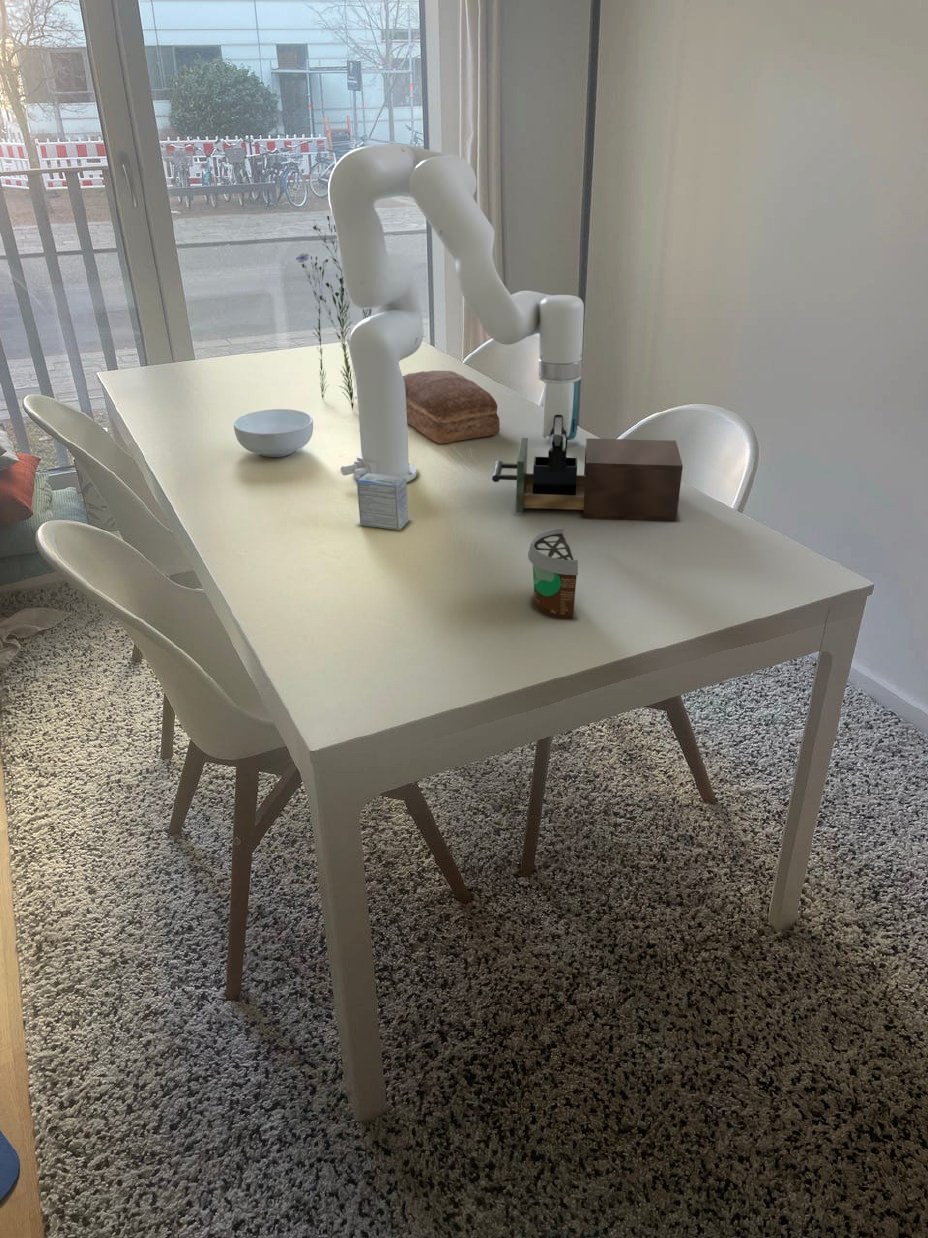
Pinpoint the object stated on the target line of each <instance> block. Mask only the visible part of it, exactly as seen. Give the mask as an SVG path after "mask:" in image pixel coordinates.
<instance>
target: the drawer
mask: <svg viewBox="0 0 928 1238" xmlns="http://www.w3.org/2000/svg"><path fill="white" fill-rule="evenodd" d="M528 439H529V438H528V437H521V439H520V443H519V449H518V455H517V460H516V463H509V462H506V463H505V462H503V461H502V460H497V461H495V465H494V469H493V473H492V477H491V480H492V481H493V482H494V483H499V481H503V480H504V481H516V497H515V499H516V501H515V502H516V503H515V504H516V505H515V512H516V513H523V512H524V509H547V510H549V509H550V510H576V511H578V510H579V511H583V510H584V493H585V476H586V475H584V474H577V481H576V495H552V494H533V472H528V442H529V441H528ZM503 469H510V470H511V469H513V470H515V469H516V474H503V473H502V471H503Z"/></svg>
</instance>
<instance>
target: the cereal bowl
mask: <svg viewBox="0 0 928 1238" xmlns="http://www.w3.org/2000/svg"><path fill="white" fill-rule="evenodd" d="M233 430H234V435H235V436H236V439H237V442H238V443H239V444H240V445H241V447H242V448H244V449H245V450H247V451H249V452H251V453H254V454H258V455H260V456H262V457H267V458H282V457H288V456H289V455H292V454H293V453H295V452H296V451H298V450H301V449H302V448H304V447H305V446H306V445H307V444H308V443H309V442H310V441H311V438H312V436H313V432H314V420H313V417H312V416H311V415H310V414H309V413H307V412H305V411H301V410H297V409H289V408H287V409H286V408H272V409H264V410H258V411H254V412H249V413H246V414H244V415H242V416H239V417H238V418H236V419H235V421H234V422H233Z"/></svg>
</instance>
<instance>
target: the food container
mask: <svg viewBox="0 0 928 1238" xmlns="http://www.w3.org/2000/svg"><path fill="white" fill-rule="evenodd" d="M564 531H565V529H564V527H559V528H552V529H548V530H544V531H541V532H540V533H538V534H537V535H535V536H534V538H533V539H532V541H531V543H530V546H529V550H528V552H527V553H528V555H527V557H528V560H529V562H530V563H531V564H532V576H533V577H532V578H533V598H534V599H533V600H534V601H533V603H534V607H535V608H536V609H537V611H539V612H540V613H542V614H544V615H546V616H549V617H552V618H557V619H564V620H565V619H567V620H570V619H571V620H573V619H574V610H575V600H576V588H577V576H578V575H579V561H578V559H574V557H573V554H572V552H571V548H570V546H569V544H568V542H567V541H566V539H565V537H564V533H565V532H564Z"/></svg>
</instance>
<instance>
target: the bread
mask: <svg viewBox="0 0 928 1238" xmlns="http://www.w3.org/2000/svg"><path fill="white" fill-rule="evenodd" d="M402 376H403V379H404V383H405V391H406V410H407V424H408V425H410V426H412V427H413V428H414V429H416V430H417V432H419V433H420V434H422V435H424V436H425V437H427V438H428V439H430V440H431V441H433V442H435V443H437V444H447V443H454V442H459V441H464V440H470V439H478V438H485V437H491V436H494V435H495V436H496V435H498V434H499V432H500V429H501V427H500V423H501V422H500V417H499V415H498V404H497V401H496V400H495V398H494V396H492V394H491V393H490V392H488V391H487V390H485V389H484V388H483V387H481V386H480V385H479V384H477V383H476V382H475V381H473V380H471V379H468V378H466V377H465V376H464V375H462V374H459V373H457V372H455V371H452V370H428V371H418V372H409V373H407V374H405V375H402Z"/></svg>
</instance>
